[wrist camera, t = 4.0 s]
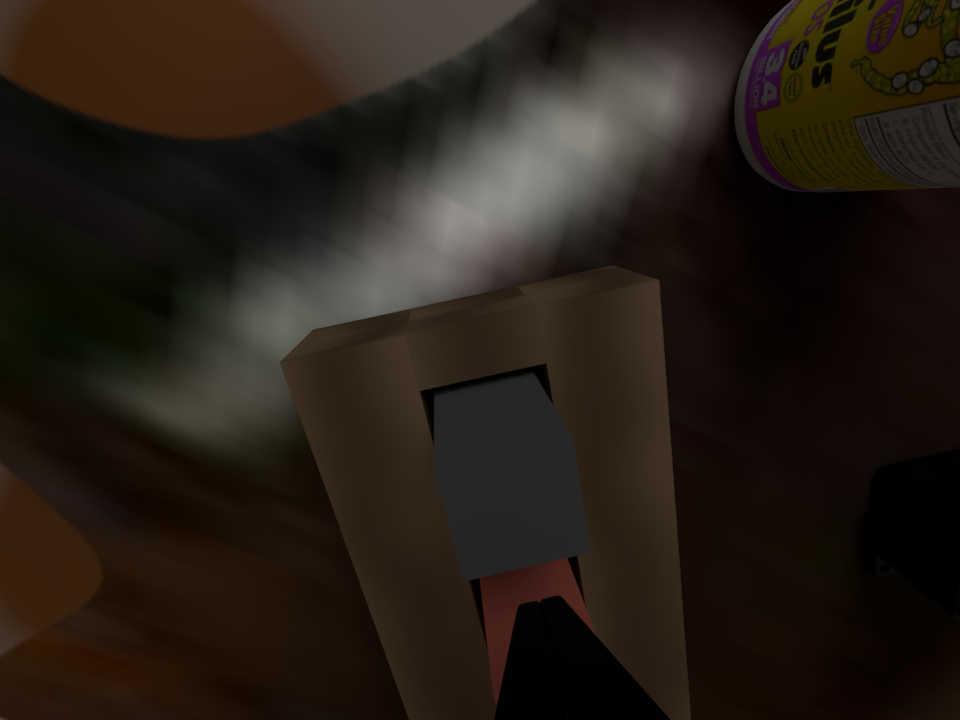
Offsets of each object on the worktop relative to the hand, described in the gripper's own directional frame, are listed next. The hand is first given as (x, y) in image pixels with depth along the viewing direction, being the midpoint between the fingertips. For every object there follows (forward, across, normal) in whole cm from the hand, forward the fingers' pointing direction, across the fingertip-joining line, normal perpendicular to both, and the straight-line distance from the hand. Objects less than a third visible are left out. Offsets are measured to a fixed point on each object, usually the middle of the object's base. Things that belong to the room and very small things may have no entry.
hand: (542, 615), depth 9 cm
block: (+11, 0, +7) cm, 13 cm away
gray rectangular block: (+8, 0, 0) cm, 8 cm away
